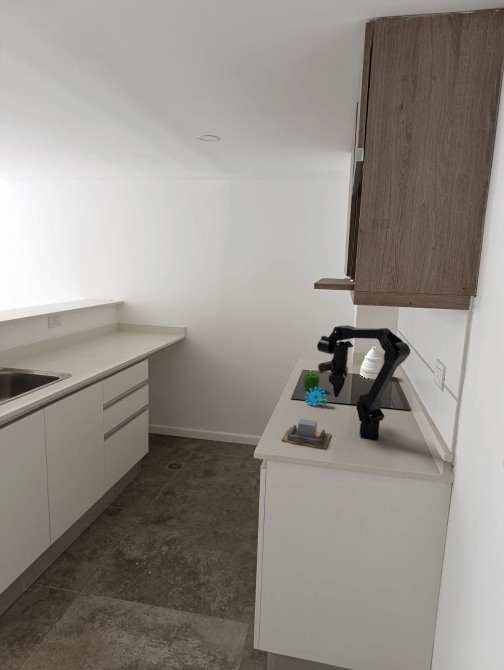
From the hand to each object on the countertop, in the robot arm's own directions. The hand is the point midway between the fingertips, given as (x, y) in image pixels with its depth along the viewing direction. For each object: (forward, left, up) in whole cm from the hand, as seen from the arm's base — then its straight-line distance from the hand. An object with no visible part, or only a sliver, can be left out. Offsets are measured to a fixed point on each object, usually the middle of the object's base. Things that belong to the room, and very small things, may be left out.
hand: (337, 393), depth 172 cm
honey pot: (-10, -83, -12) cm, 84 cm away
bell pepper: (+18, -40, -12) cm, 45 cm away
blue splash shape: (+11, -18, -12) cm, 24 cm away
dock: (+8, +21, -12) cm, 26 cm away
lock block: (+8, +21, -11) cm, 25 cm away
